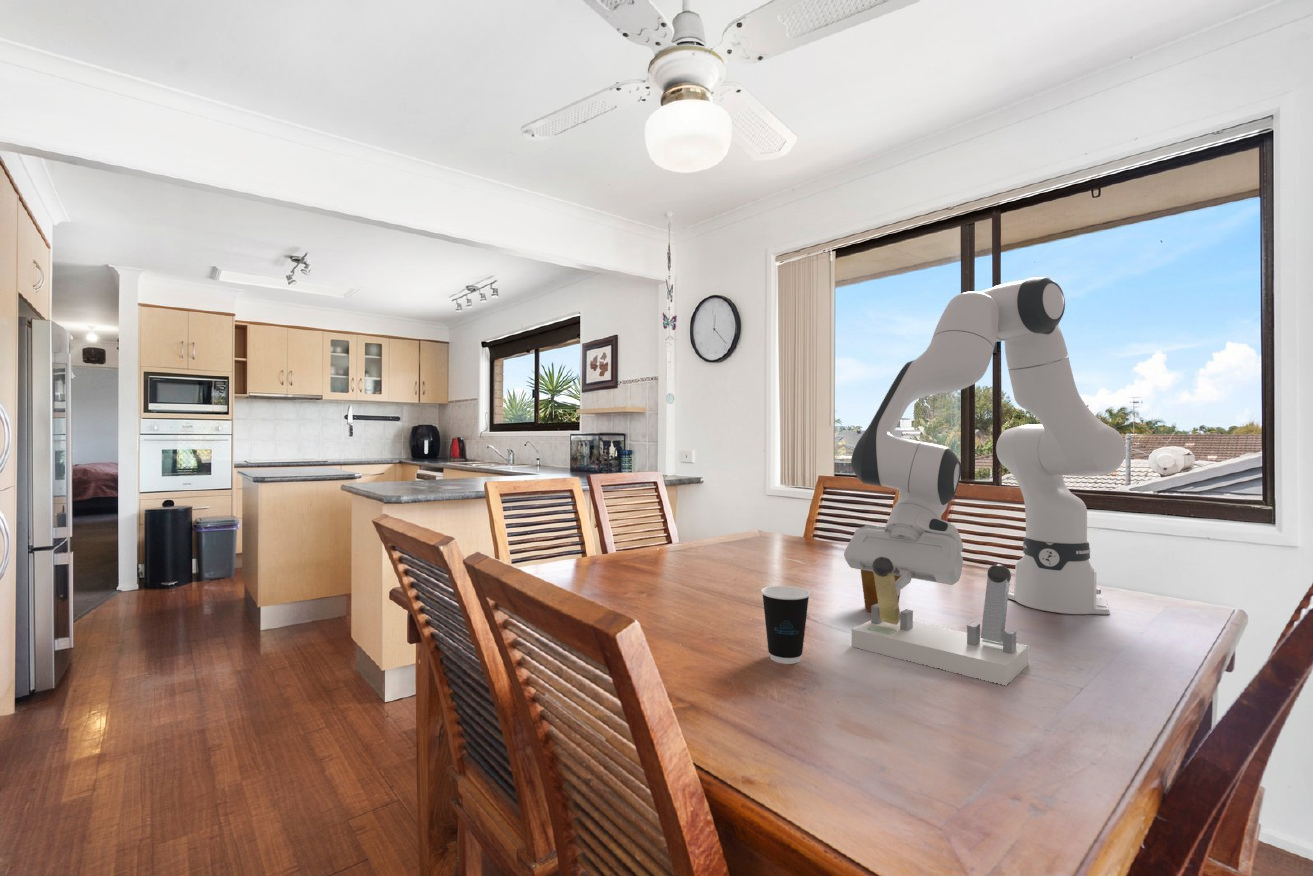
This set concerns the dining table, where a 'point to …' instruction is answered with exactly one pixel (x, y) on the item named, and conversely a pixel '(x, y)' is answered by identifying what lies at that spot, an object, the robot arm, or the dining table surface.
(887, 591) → the brass lever
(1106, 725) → the dining table surface
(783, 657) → the dixie cup
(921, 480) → the robot arm
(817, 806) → the dining table surface
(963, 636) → the switch panel
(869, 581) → the disposable coffee cup
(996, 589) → the steel lever
